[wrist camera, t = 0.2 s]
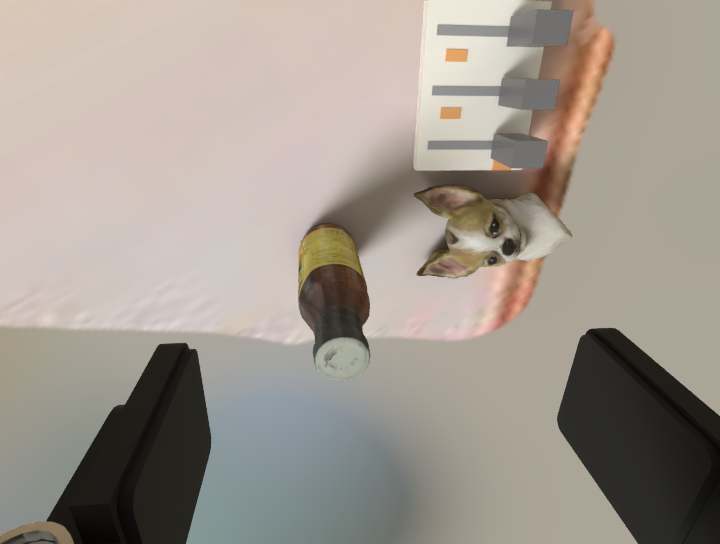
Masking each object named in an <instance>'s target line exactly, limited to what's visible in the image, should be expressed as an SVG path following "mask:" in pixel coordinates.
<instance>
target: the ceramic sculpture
mask: <svg viewBox="0 0 720 544" xmlns="http://www.w3.org/2000/svg"><path fill="white" fill-rule="evenodd" d="M414 196H415V197H416V198H418V199H420V200H421V201H422V202H423V203H424V204H425V205H426V206H427V207H428V208H429V209H430V210H431V211H432V212H433V213H435V214H436V215H439V216H442V217H445V218H449V220H448V222H447V225H446V229H445V238H446V241H447V244H448V247H449V249H450V250H437V251H436V252H434V253H433V254H432V255H431V257H430V258H429V259H428V260H427V261H426V263H425V264H424V265H423V266H422V267H421V268H420V269H419V271H418V272H417V276H425V275H432V276H438V277H448V278H458V277H461V276H468V275H470V274H472V273H474V272H475V271H476V270H477V269H478V268H479V267H498V266H501V265H504V264H506V263H508V262H511V261H513V260H515V259H518V260H525V261H531V260H533V259H538V258H541V257H543V256H545V255H547V254H549V253H551V252H552V251H553V250H555V249H556V248H558V247H559V246H560V245H562V244H563V243H564V242H566V241H568V240H570V239H571V238H572V234H571V232H570V231H569V230H568V229H567V228H566V227H565V225H564V224H563V222H562V221H561V220H560V219H559V218H558V217H556V216H555V215H554V214H553V212H552V211H551V210H550V209H549V208H548V207H547V206H546V205H545V204H544V203H543V202H542V201H541V199H540V198H539V197H538V196H537V195H536V194H534V193H525V194H523V195H521V196H519V197H518V198H515V199H510V200H508V199H504V200H502V199H494V200H487V199H485V198H484V197H483V196H482V195H481V194H480V193H479V192H478V191H476V190H474V189H473V188H471V187H466V186H459V185H442V186H435V187H431V188H428V189H426V190H423V191H420V192H417V193H415V194H414Z"/></svg>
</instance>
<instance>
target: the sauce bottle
mask: <svg viewBox="0 0 720 544" xmlns="http://www.w3.org/2000/svg"><path fill="white" fill-rule="evenodd" d="M298 276H299V278H298V282H299V283H298V284H299V290H298V301H299V310H300V313H301V316H302V318H303V319H304V320H305V322H306V323H307V324H308V326H309V327H310V328H311V329H312V331H313V332H314V335H315V344H314V348H313V356H314V362H315V366H316V369H317V371H318V372H319V373H320V374H321V375H322V376H324V377H326V378H328V379H331V380H335V381H347V380H351V379H354V378H356V377H357V376H359V375H360V374H362V373H363V372H364V371H365V369H366V368H367V366H368V364H369V360H370V351H369V345H368V342H367V339H366V338H365V336H364V335H363V331H362V326H363V325H364V324H365V322H366V320H367V319H368V317H369V309H370V303H369V296H368V293H367V285H366V281H365V278H364V275H363V271H362V267H361V264H360V260H359V257H358V254H357V250H356V247H355V244H354V242H353V241H352V238H351V236H350V235H349V234H348V233H347V231H345V230H344V229H343V228H340V227H338V226H336V225H333V224H323V225H319V226H316V227H314V228H312V229H310V230H309V231H308V232H307V233H306V235H305V236H304V238H303V240H302V242H301V245H300V248H299V274H298Z"/></svg>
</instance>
